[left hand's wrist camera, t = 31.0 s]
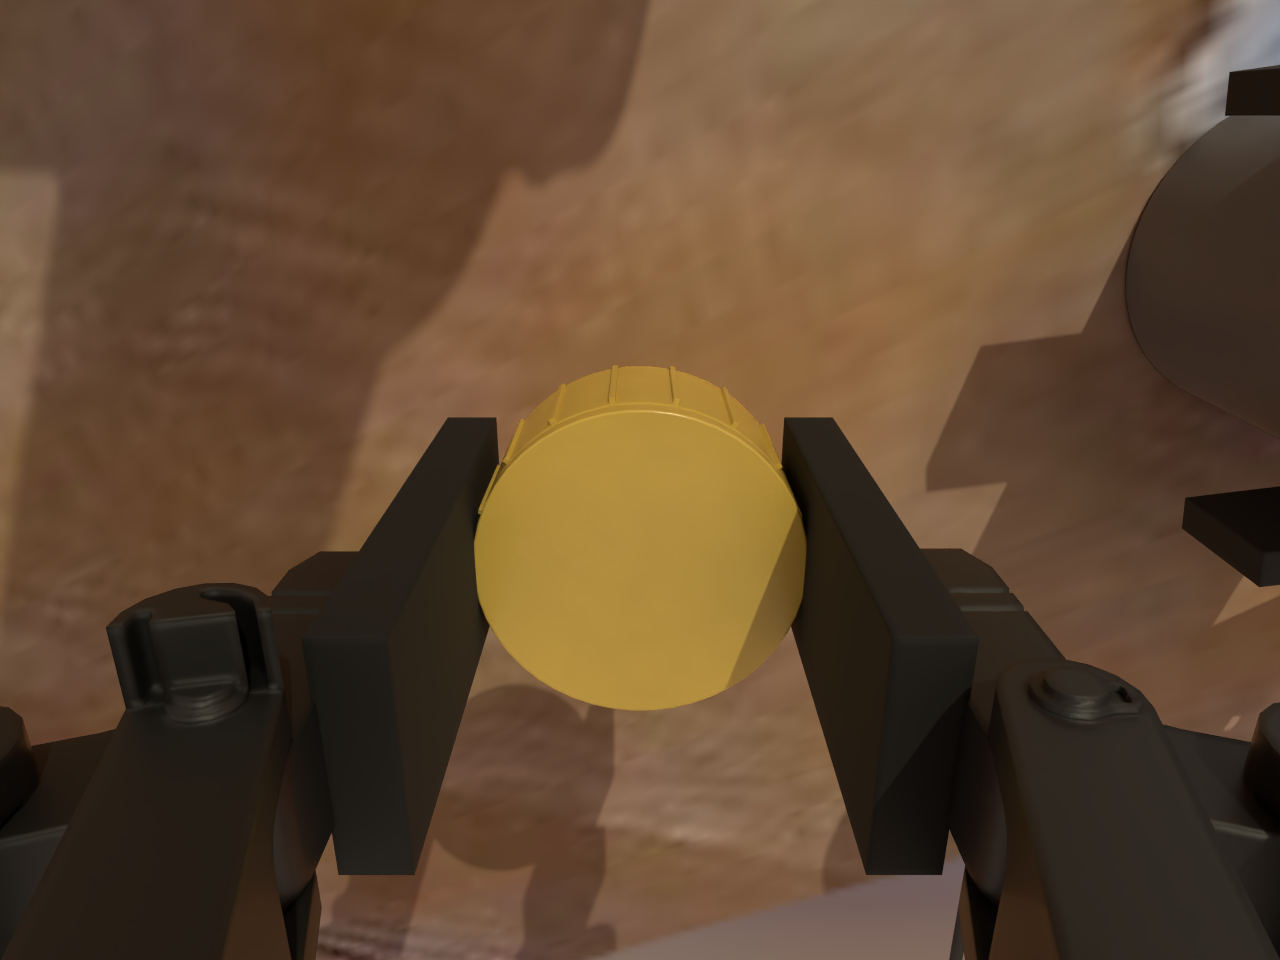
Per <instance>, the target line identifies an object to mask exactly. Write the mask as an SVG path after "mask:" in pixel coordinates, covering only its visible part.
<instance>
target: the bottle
mask: <svg viewBox="0 0 1280 960" xmlns="http://www.w3.org/2000/svg"><path fill="white" fill-rule="evenodd" d="M1126 299H1127V306H1128V313H1129V318H1130V321H1131V325H1132V328H1133V331H1134V335H1135V337H1136V339H1137V341H1138V343H1139V345H1140V347H1141V349H1142V351H1143V352H1144V354H1145V355H1146V357H1147V358H1148V360H1149V361H1150V362H1151V364H1152V365H1153V366H1154V367H1155V368H1156V369H1157V370H1158V371H1159V372H1160V373H1161V374H1162V375H1163V376H1164V377H1165V378H1166V379H1167V380H1169V381H1170V382H1171V383H1173V384H1174V385H1175V386H1177V387H1178V388H1180V389H1182V390H1184V391H1186V392H1188V393H1190V394H1192V395H1194V396H1196V397H1198V398H1199V399H1201V400H1203V401H1205V402H1207V403H1209V404H1211V405H1213V406H1215V407H1217V408H1219V409H1221V410H1223V411H1225V412H1227V413H1229V414H1231V415H1233V416H1235V417H1237V418H1239V419H1241V420H1243V421H1245V422H1247V423H1249V424H1251V425H1253V426H1255V427H1257V428H1259V429H1261V430H1263V431H1265V432H1267V433H1269V434H1271V435H1273V436H1274V437H1276V438H1278V439H1280V116H1230V117H1228V118H1226V119H1225V120H1223V121H1222V122H1220V123H1219V124H1217V125H1216V126H1215V127H1214V128H1212V129H1211V130H1210V131H1208V132H1207V133H1206V134H1205V135H1203V136H1202V137H1201V138H1200V139H1199V140H1198V141H1196V142H1195V143H1194V144H1193V145H1192V146H1191V147H1190V148H1189V149H1188V150H1187V151H1186V152H1185V153H1184V154H1183V155H1182V156H1181V157H1180V159H1179V160H1178V161H1177V162H1176V163H1175V165H1174V166H1173V167H1172V168H1171V169H1170V171H1169V172H1168V173H1167V174H1166V176H1165V177H1164V179H1163V180H1162V182H1161V183H1160V185H1159V186H1158V188H1157V189H1156V191H1155V192H1154V194H1153V195H1152V197H1151V199H1150V201H1149V203H1148V205H1147V207H1146V209H1145V211H1144V212H1143V214H1142V217H1141V219H1140V222H1139V224H1138V227H1137V230H1136V232H1135V235H1134V238H1133V242H1132V246H1131V250H1130V254H1129V259H1128V266H1127V274H1126Z"/></svg>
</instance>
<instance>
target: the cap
mask: <svg viewBox="0 0 1280 960" xmlns="http://www.w3.org/2000/svg"><path fill="white" fill-rule="evenodd" d="M478 514H480V517H479V520H478V523H477V528H476V533H475V538H474V553H475V568H476V581H477V593H478V599H479V602H480V605H481V608H482V610H483V613H484V615H485V618H486V620H487V622H488V623H489V625H490V627H491V629H492V630H493V632H494V634H495V636H496V637H497V639H498V640H499V641H500V643H501V644H502V645H503V647H504V648H505V649H506V651H507V652H508V653H509V654H510V655H511V656H512V657H513V658H514V659H515V660H516V661H517V662H518V663H519V664H520V665H521V666H522V667H523V668H524V669H525V670H527V671H528V672H529V673H530V674H532V675H533V676H534V677H535V678H537V679H538V680H540V681H541V682H543V683H545V684H546V685H548V686H550V687H551V688H553V689H555V690H557V691H559V692H561V693H563V694H565V695H567V696H570V697H572V698H574V699H577V700H580V701H583V702H586V703H589V704H593V705H597V706H602V707H607V708H611V709H621V710H631V711H642V710H660V709H668V708H675V707H679V706H683V705H688V704H692V703H695V702H698V701H701V700H703V699H706V698H709V697H712V696H714V695H716V694H718V693H720V692H722V691H724V690H726V689H728V688H730V687H732V686H733V685H735V684H736V683H738V682H739V681H741V680H742V679H744V678H745V677H747V676H748V675H749V674H751V673H752V672H753V671H754V670H755V669H757V668H758V667H759V666H760V665H761V664H762V663H763V662H764V661H765V660H766V659H767V658H768V657H769V656H770V655H771V654H772V653H773V652H774V651H775V649H776V648H777V647H778V645H779V644H780V642H781V641H782V640H783V638H784V637H785V635H786V634H787V632H788V631H789V629H790V627H791V625H792V623H793V621H794V619H795V617H796V615H797V613H798V610H799V607H800V604H801V602H802V599H803V589H804V576H805V563H806V547H807V538H806V533H805V529H804V525H803V521H802V514H801V511H800V509H799V507H798V504H797V502H796V499H795V497H794V495H793V492H792V490H791V487H790V485H789V483H788V480H787V478H786V475H785V473H784V471H782V464H781V462H780V460H779V457H778V455H777V453H776V450H775V448H774V445H773V443H772V441H771V438H770V436H769V433H768V431H767V429H766V427H765V425H764V424H761V425H759V424H758V422H757V421H756V420H755V418H754V417H753V416H752V415H751V414H750V413H749V412H748V411H747V410H746V409H745V408H744V407H743V406H742V405H741V404H740V403H739V402H738V401H737V400H736V399H734V398H733V397H732V396H730V395H729V393H728V390H727V389H726V388H725V387H722V388H721V389H720V388H718V387H717V386H715V385H713V384H711V383H709V382H708V381H706V380H703V379H701V378H698V377H696V376H693V375H690V374H688V373H684V372H680V371H676V369H675V367H673V366H670V368H669V369H668V368H659V367H651V366H628V367H621V368H618V365H613V366H612V369H608V370H604V371H601V372H597V373H593V374H590V375H587V376H585V377H583V378H580V379H578V380H576V381H573V382H571V383H569V384H568V385H566V386H565V384H564V383H563V384H561V385H559V388H558V391H556V392H554V393H553V394H552V395H551V396H549V397H548V398H547V399H545V400H544V401H543V402H542V403H540V404H539V405H538V406H537V407H536V408H535V410H534V411H533V412H532V413H531V414H530V415H529V416H528V417H527V418H526V419H525V420H523V419H521V420H520V421H519V423H518V425H517V427H516V430H515V432H514V435H513V437H512V439H511V442H510V444H509V446H508V448H507V451H506V453H505V456H504V458H503V460H502V463H501V465H497V467H496V469H495V472H494V474H493V476H492V479H491V481H490V483H489V486H488V488H487V490H486V493H485V495H484V497H483V500H482V502H481V504H480V507H479V509H478Z"/></svg>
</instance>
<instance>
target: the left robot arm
mask: <svg viewBox="0 0 1280 960" xmlns="http://www.w3.org/2000/svg"><path fill="white" fill-rule="evenodd" d="M497 465H499V455H498V439H497V422H496V418H447V420H446V421H445V423H444V424H443V426H442V427H441V429H440V430H439V432H438V433H437V435H436V436H435V438H434V439H433V441H432V442H431V444H430V445H429V447H428V448H427V450H426V451H425V453H424V454H423V456H422V457H421V459H420V460H419V462H418V464H417V465H416V467H415V468H414V470H413V471H412V473H411V474H410V476H409V477H408V479H407V480H406V482H405V483H404V485H403V486H402V488H401V489H400V491H399V492H398V494H397V495H396V497H395V498H394V500H393V501H392V503H391V504H390V506H389V507H388V509H387V510H386V512H385V513H384V515H383V516H382V518H381V519H380V521H379V522H378V524H377V525H376V527H375V528H374V530H373V531H372V533H371V534H370V536H369V537H368V539H367V540H366V542H365V543H364V545H363V546H362V548H361V549H360V551H359V552H319V553H317V554H315V555H314V556H312V557H310V558H309V559H307V560H305V561H304V562H302V563H300V564H299V565H297V566H295V567H294V568H292V569H290V570H289V571H288V572H287V573H286V575H285V576H284V577H283V579H282V580H281V581H280V582H279V584H278V585H277V586H276V587H275V589H274V590H273V591H272V596H267V595H265V594H264V593H263V592H261V591H260V590H258V589H257V588H255V587H250V586H246V585H241V584H236V583H206V584H200V585H194V586H189V587H183V588H177V589H173V590H170V591H167V592H165V593H162V594H159V595H156V596H153V597H150V598H147V599H144V600H143V601H141V602H139V603H137V604H135V605H134V606H132V607H130V608H128V609H126V610H124V611H123V612H121V613H120V614H119V615H118V616H117V617H116V618H115V619H114V620H113V621H112V622H111V623H110V624H109V625H108V626H107V627H106V630H107V634H108V638H109V642H110V646H111V650H112V654H113V658H114V662H115V666H116V670H117V674H118V678H119V682H120V686H121V690H122V694H123V698H124V702H125V706H126V710H125V712H124V714H123V716H122V718H121V720H120V722H119V724H118V726H117V728H116V729H114V730H110V731H106V732H102V733H98V734H93V735H87V736H82V737H77V738H71V739H66V740H61V741H56V742H50V743H45V744H40V745H35V746H31V745H30V742H29V739H28V735H27V732H26V729H25V725H24V722H23V719H22V717H21V716H19V715H18V714H17V713H15V712H14V711H13V710H11V709H10V708H8V707H1V706H0V960H315V958H316V950H317V941H318V933H319V925H320V917H321V908H322V907H321V901H320V894H319V888H318V882H317V876H316V870H315V869H316V867H317V865H318V862H319V860H320V858H321V856H322V853H323V851H324V849H325V846H326V844H327V842H328V840H329V837H330V835H331V833H332V836H333V843H334V849H335V855H336V861H337V868H338V874H339V875H414V874H415V871H416V868H417V864H418V861H419V858H420V854H421V851H422V848H423V845H424V841H425V838H426V835H427V831H428V828H429V825H430V821H431V818H432V815H433V811H434V808H435V805H436V801H437V798H438V795H439V792H440V788H441V785H442V782H443V778H444V775H445V772H446V768H447V765H448V762H449V758H450V755H451V752H452V749H453V745H454V742H455V739H456V735H457V732H458V729H459V725H460V722H461V719H462V715H463V712H464V709H465V706H466V702H467V699H468V696H469V692H470V689H471V686H472V682H473V679H474V676H475V672H476V669H477V666H478V663H479V659H480V656H481V653H482V649H483V646H484V643H485V639H486V636H487V633H488V629H489V626H490V625H489V623H488V622H487V620H486V618H485V615H484V613H483V610H482V608H481V605H480V602H479V599H478V593H477V581H476V568H475V553H474V538H475V533H476V528H477V523H478V520H479V517H480V514H478V509H479V507H480V504H481V502H482V500H483V497H484V495H485V493H486V490H487V488H488V486H489V483H490V481H491V479H492V476H493V474H494V472H495V469H496V467H497ZM782 471H784V473H785V475H786V478H787V480H788V483H789V485H790V487H791V490H792V492H793V495H794V497H795V499H796V502H797V504H798V507H799V509H800V511H801V514H802V521H803V525H804V529H805V533H806V538H807V547H806V563H805V576H804V589H803V599H802V602H801V604H800V607H799V610H798V613H797V615H796V617H795V619H794V621H793V623H792V625H791V628H792V631H793V634H794V638H795V641H796V644H797V647H798V651H799V654H800V657H801V661H802V664H803V667H804V671H805V674H806V677H807V681H808V684H809V687H810V690H811V694H812V697H813V700H814V704H815V707H816V710H817V714H818V717H819V720H820V724H821V727H822V730H823V733H824V737H825V740H826V743H827V747H828V750H829V753H830V757H831V760H832V763H833V766H834V770H835V773H836V776H837V780H838V783H839V786H840V790H841V793H842V796H843V800H844V803H845V806H846V809H847V813H848V816H849V819H850V823H851V826H852V829H853V833H854V836H855V839H856V843H857V846H858V849H859V852H860V856H861V859H862V862H863V866H864V869H865V872H866V875H942V871H943V865H944V859H945V853H946V846H947V840H948V834H949V829H950V831H951V834H952V836H953V838H954V840H955V843H956V845H957V847H958V850H959V852H960V854H961V856H962V859H963V861H964V863H965V871H964V876H963V882H962V888H961V894H960V899H959V905H958V911H957V917H956V923H955V929H954V935H953V941H952V946H951V953H950V959H949V960H962V958H963V953H964V956H965V960H1280V703H1274V704H1272V705H1271V706H1269V707H1268V708H1267V709H1265V710H1264V711H1263V712H1261V713H1260V715H1259V718H1258V721H1257V725H1256V728H1255V731H1254V735H1253V738H1252V741H1251V742H1246V741H1241V740H1236V739H1230V738H1225V737H1220V736H1215V735H1209V734H1204V733H1199V732H1193V731H1188V730H1183V729H1179V728H1175V727H1171V726H1167V725H1163V724H1162V723H1161V721H1160V719H1159V717H1158V715H1157V713H1156V711H1155V709H1154V707H1153V706H1152V705H1151V703H1150V702H1149V701H1148V700H1147V699H1146V697H1145V696H1144V695H1143V694H1142V693H1141V691H1140V690H1138V689H1136V688H1135V687H1133V686H1132V685H1130V684H1129V683H1127V682H1126V681H1124V680H1123V679H1121V678H1120V677H1118V676H1116V675H1114V674H1111V673H1109V672H1106V671H1104V670H1101V669H1099V668H1096V667H1094V666H1091V665H1088V664H1084V663H1079V662H1074V661H1069V660H1066V659H1065V658H1064V656H1063V655H1062V654H1061V653H1060V651H1059V650H1058V649H1057V648H1056V646H1055V645H1054V644H1053V643H1052V641H1051V640H1050V639H1049V638H1048V636H1047V635H1046V634H1045V633H1044V631H1043V630H1042V629H1041V628H1040V626H1039V625H1038V624H1037V623H1036V621H1035V620H1034V619H1033V618H1032V616H1031V615H1030V614H1029V613H1028V611H1024V606H1023V605H1022V604H1021V603H1020V601H1019V600H1018V599H1017V598H1016V597H1015V595H1014V594H1013V593H1009V588H1008V587H1007V585H1006V584H1005V583H1004V582H1003V580H1002V579H1001V578H1000V577H999V575H998V574H997V573H996V572H995V570H994V569H993V568H992V567H991V566H989V565H988V564H986V563H984V562H982V561H981V560H979V559H977V558H976V557H974V556H972V555H971V554H969V553H967V552H966V551H964V550H962V549H920V548H919V547H918V545H917V544H916V542H915V541H914V539H913V538H912V536H911V535H910V533H909V532H908V530H907V529H906V527H905V526H904V524H903V523H902V521H901V520H900V518H899V517H898V515H897V514H896V512H895V511H894V509H893V508H892V506H891V505H890V503H889V502H888V500H887V499H886V497H885V496H884V494H883V493H882V491H881V490H880V488H879V487H878V485H877V484H876V482H875V481H874V479H873V478H872V476H871V475H870V473H869V472H868V470H867V469H866V467H865V466H864V464H863V463H862V461H861V460H860V458H859V457H858V455H857V454H856V452H855V451H854V449H853V448H852V446H851V445H850V443H849V442H848V440H847V439H846V437H845V436H844V434H843V433H842V431H841V430H840V428H839V426H838V425H837V423H836V422H835V420H834V419H833V418H784V432H783V448H782Z"/></svg>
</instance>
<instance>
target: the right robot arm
mask: <svg viewBox="0 0 1280 960" xmlns="http://www.w3.org/2000/svg"><path fill="white" fill-rule="evenodd" d="M1225 116H1280V65H1277V66H1270V67H1263V68H1256V69H1249V70H1242V71H1234V72H1230V74H1229V84H1228V93H1227V103H1226V112H1225ZM1182 529H1184V530H1185V531H1186V532H1188V533H1189V534H1190V535H1192V536H1193V537H1194V538H1196V539H1197V540H1198V541H1200V542H1201V543H1202V544H1203V545H1205V546H1206V547H1207V548H1209V549H1210V550H1211V551H1213V552H1214V553H1215V554H1217V555H1218V556H1219V557H1221V558H1222V559H1223V560H1224V561H1226V562H1227V563H1228V564H1230V565H1231V566H1232V567H1234V568H1235V569H1236V570H1238V571H1239V572H1240V573H1242V574H1243V575H1244V576H1245V577H1247V578H1248V579H1249V580H1251V581H1252V582H1253V583H1255V584H1256V585H1257V586H1259V587H1264V586H1273V585H1280V487H1271V488H1263V489H1255V490H1246V491H1238V492H1229V493H1221V494H1213V495H1204V496H1196V497H1188V498H1185V506H1184V515H1183V525H1182Z"/></svg>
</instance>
